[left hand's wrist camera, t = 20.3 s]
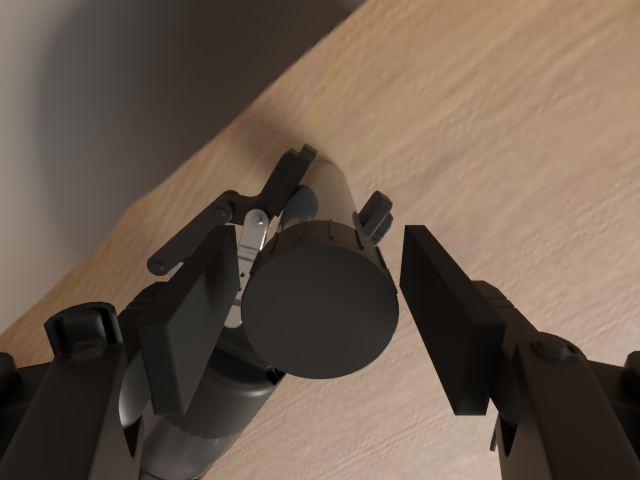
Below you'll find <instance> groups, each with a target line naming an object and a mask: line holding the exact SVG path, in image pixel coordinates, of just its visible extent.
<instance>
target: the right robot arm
mask: <svg viewBox="0 0 640 480" xmlns="http://www.w3.org/2000/svg"><path fill="white" fill-rule="evenodd" d="M316 153H317V150H315V149H314V148H312V147H310V146H309V145H307V144H305V145H304V147H303V148H302V150H301V152H300V153H299V152H297V151H296V150H294V149H293V148H291V149H290V150H288V151H287V152H286V153H284V154H283V156H282V157H281V159H280V160H279V162H278V164H277V166H276V167H275V169H274V171H273V172H272V174H271V176H270V178H269V179H268V181H267V183H266V184H265V186H264V188H263V190H262V191H261V193H260V194H259V195H257V196H254V197H247V196H243V195H239V193H238V192H236V191H234V190H227V191H225V192H224V193H223V194H221V195H220V196H219V197H218V198H217V199H216V200H215V201H213V202H212V203H211V204H210V205H209V206H208V207H207V208H205V209H204V210H203V211H202V212H201V213H200V214H199V215H197V216H196V217H195V218H194V219H193V220H192V221H191V222H190V223H188V224H187V225H186V226H185V227H184V228H183V229H182V230H180V231H179V232H178V233H177V234H176V235H175V236H174V237H172V238H171V239H170V240H169V241H168V242H167V243H166V244H165V245H163V246H162V247H161V248H160V249H159V250H158V251H157V252H156V253H155V254H154V255H153V256H151V257H150V258H149V259H148V261H147V268H148V270H149V271H150V272H151V273H152V274H154V275H156V276H163V275H166V274H168V275H170V276H171V277H172V276H173V275H174V274H175V273H176V272H177V270H178V269H179V268H180V267H181V266H182V264H183V263H184V262H185V261H186V260H187V259H188V257H189V256H190V255H191V254H192V253H193V251H194V250H195V249H196V248H197V247H198V246H199V244H200V243H201V242H202V241H203V240H204V238H205V237H206V236H207V235H208V234H209V233H210V231H211V230H212V229H213V228H214V227H215V225H225V224H226V223H227V222H228V223H233V224H238V225H243V229H242V234H241V238H240V242H239V246H238V249H237V253H238V264H239V274H240V284H241V286H240V289H239V291H238V293H237V296H236V298H235V300H234V302H233V305H232V307H231V309H230V312H229V314H228V316H227V319H226V321H225V323H224V326H223V328H222V330H221V333H220V335H219V337H218V340H217V342H216V344H215V347H214V349H213V351H212V353H211V356H210V358H209V360H208V363H207V365H206V367H205V370H204V372H203V374H202V377H201V379H200V381H199V384H198V386H197V388H196V391H195V393H194V395H193V398H192V400H191V402H190V405H189V407H188V409H187V411H186V414H185V415H154V412H153V408H152V403H151V399H150V400H149V401H148V403H147V405H146V407H145V408H144V410H143V412H142V416H143V420H144V427H145V429H144V437H143V445H142V453H141V461H140V468H139V476H138V480H202V479H203V478H204V476H205V475H206V474H207V472H208V471H209V470H210V468H211V467H212V466H213V464H214V463H215V462H216V461H217V460H218V459H219V458H220V457H221V456H223V455H224V454H225V453H226V452H227V451H228V450H229V449H230V447H231V446H232V445H233V444H234V443H235V441H236V440H237V439H238V437H239V436H240V435H241V434H242V432H243V431H244V430H245V428H246V427H247V426H248V424H249V423H250V422H251V420H252V419H253V418H254V416H255V415H256V414H257V412H258V411H259V410H260V409H261V407H262V406H263V405H264V403H265V402H266V401H267V399H268V398H269V397H270V395H271V394H272V393H273V391H274V390H275V389H276V388H277V386H278V385H279V384H280V382H281V381H282V379H283V378H284V376H285V375H286V373H285V372H283V371H281V370H279V369H277V368H275V367H274V366H272V365H270V364H269V363H268V362H266V361H265V360H264V359H263V358H262V357H261V356H260V355H259V354H258V353H257V352H256V351H255V350H254V348H253V347H252V346H251V344H250V343H249V341H248V339H247V337H246V335H245V332H244V330H243V326H242V322H241V312H240V311H241V301H242V300H241V297H242V294H243V292H244V289H245V287H246V284H247V282H248V279H249V277H250V274H249V272H250V269H251V267H252V264H253V262H254V260H255V257H256V255H257V253H258V251H260V252H261V251H262V249H263V248H264V246H265V243H266V240H267V235H268V231H269V227H270V223H271V220H272V219H273V217H274V215H275V216H277V217H279V215H280V213H281V212H282V210H283V208H284V207H285V205H286V203H287V202H288V200H289V199H290V197H291V195H292V194H293V192H294V191H295V189H296V187H297V186H298V184H299V182H300V181H301V179H302V178H303V176H304V174H305V173H306V171H307V170H308V168H309V166H310V165H311V163H312V161H313V160H314V158H315V156H316ZM391 208H392V202H391V201H390V199H389V198H388V197H387V196H385V195H384V194H382V193H381V192H379V191H378V190H377V191H375V192H374V193H373V195H372V196H371V197H370V199H369V200H368V201H367V203H366V204H365V206H364V207H363V209H362V210H361V211H360V213H359V214H358V216H359V219H360V222H361V224H362V227H363V230H364V233H365V236H366V237H367V238H368V239H369V240H370V241H371V242H372V243H373V244H374V246H375V247H376V246H377V245H378V243H379V242H380V241H381V239H382V238H383V237H384V235H385V234H386V233H387V231H388V230H389V229H390V227H391V224H392V221H393V217H392V215H391V213H390V210H391Z"/></svg>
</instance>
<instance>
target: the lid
mask: <svg viewBox="0 0 640 480" xmlns="http://www.w3.org/2000/svg"><path fill="white" fill-rule="evenodd" d="M386 268H387V266H386V264H385V261H384V259H383V257H382V254H381V252H380V249H379V247H378V246H376V247H375V246H374V244H373V243H372V242H371V241H370V240H369V239H368V238H367V237H366V236H364V235H363V234H362V233H361V232H360V230H359V229H358V228H356V229H354V228H352V227H350V226H347V225H345V224H342V223H338V222H334V221H332V220H331V219H329V221H327V220H314V221H306V222H304V221H300V223H298V224H295V225H292V226H290V227H288V228H286V229H284V230H282V231H281V232H279V233H278V232H276V233H275V234H274V237H273V238H272V239H271V240H269V241H268V242H267V244H266V245H265V246H264V248H263V249H262V251H261V252H260V251H258V253H257V255H256V257H255V260H254V262H253V264H252V267H251V269H250V272H249V274H250V277H249V279H248V282H247V284H246V287H245V289H244V292H243V294H242V297H241V300H242V301H241V311H240V312H241V322H242V326H243V330H244V332H245V335H246V337H247V339H248V341H249V343H250V344H251V346H252V347H253V348H254V350H255V351H256V352H257V353H258V354H259V355H260V356H261V357H262V358H263V359H264V360H265V361H266V362H268V363H269V364H270V365H272V366H274V367H275V368H277V369H279V370H281V371H283V372H285V373H288V374H291V375H294V376H298V377H302V378H309V379H331V378H337V377H342V376H345V375H349V374H352V373H354V372H356V371H359V370H361V369H362V368H364V367H366V366H368V365H369V364H370V363H372V362H373V361H374V360H376V359H377V358H378V357H379V356H380V355H381V354H382V353H383V352H384V350H385V349H386V348H387V347H388V345H389V343H390V342H391V340H392V338H393V336H394V334H395V331H396V328H397V324H398V318H399V304H398V299H397V295H396V294H398V292H397V289H396V286H395V284H394V282H393V279H392V277H391V274H390V272H389V269H388V268H387V269H386Z"/></svg>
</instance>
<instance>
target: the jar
mask: <svg viewBox="0 0 640 480" xmlns="http://www.w3.org/2000/svg"><path fill="white" fill-rule="evenodd" d="M329 219H331V220H332V221H334V222H338V223H342V224H345V225H347V226H350V227H352V228H354V229H356V228H358V229H359V230H360V232H361V233H362V234H363V235H364V236H365V233H364V230H363V227H362V224H361V222H360V219H359V216H358V213H357V210H356V207H355V204H354V201H353V198H352V195H351V192H350V189H349V186H348V183H347V180H346V178H345V176H344V174H343V172H342V171H341V170H340V169H339V168H338V167H337V166H335V165H334V164H332V163H330V162H326V161H313V162H312V163H311V165H310V166H309V168H308V170H307V171H306V173H305V174H304V176H303V178H302V179H301V181H300V182H299V184H298V186H297V187H296V189H295V191H294V192H293V194H292V195H291V197H290V199H289V200H288V202H287V203H286V205H285V207H284V209H283V212H282V215H281V218H280V221H279V223H278V226H277V229H276V232H278V233H279V232H281V231H282V230H284V229H286V228H288V227H290V226H292V225H295V224H298V223H300V221H304V222H306V221H314V220H327V221H329ZM276 232H275V233H276Z"/></svg>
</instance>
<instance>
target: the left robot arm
mask: <svg viewBox="0 0 640 480" xmlns="http://www.w3.org/2000/svg"><path fill="white" fill-rule="evenodd" d="M240 286H241V284H240V274H239V264H238V253H237V243H236V232H235V225H215V227H214V228H213V229H212V230H211V231H210V233H209V234H208V235H207V236H206V237H205V238H204V240H203V241H202V242H201V243H200V244H199V246H198V247H197V248H196V249H195V250H194V251H193V253H192V254H191V255H190V256H189V257H188V259H187V260H186V261H185V262H184V263H183V264H182V266H181V267H180V268H179V269H178V270H177V272H176V273H175V274H174V275H173V276H172V277H171V279H170V280H169V281H168V282H155V283H154V284H152V285H150V286H148V287H147V288H145V289H143V290H142V291H141V292H140V293H139V294H138V295H137V296H136V297H135V298H134V299H133V301H131V303H130V304H129V305H128V306H127V307H126V309H124V310H123V311H122V312H121V313H120V314H119V315H118V316H117V314H116V310H115V307H114V306H113V305H111V304H110V303H105V302H89V303H84V304H80V305H75V306H73V307H70V308H67V309H65V310H62V311H60V312H59V313H57V314H55V315H54V316H52V317H50V318H49V319H48V320H47V321H46V322H45V323H44V327H45V330H46V333H47V336H48V339H49V342H50V344H51V347H52V350H53V353H54V356H55V357H54V359H53V361H52V362H48V363H43V364H38V365H33V366H28V367H23V368H18V369H17V366H16V364H15V362H14V359H13V357H12V356H11V355H9V354H8V353H2V352H0V480H138V476H139V468H140V461H141V453H142V445H143V437H144V429H145V427H144V420H143V416H142V412H143V410H144V408H145V407H146V405H147V403H148V401H149V400H150V399H151V403H152V408H153V412H154V415H185V414H186V411H187V409H188V407H189V405H190V402H191V400H192V398H193V395H194V393H195V391H196V388H197V386H198V384H199V381H200V379H201V377H202V374H203V372H204V370H205V367H206V365H207V363H208V360H209V358H210V356H211V353H212V351H213V349H214V347H215V344H216V342H217V340H218V337H219V335H220V333H221V330H222V328H223V326H224V323H225V321H226V319H227V316H228V314H229V312H230V309H231V307H232V305H233V302H234V300H235V298H236V296H237V293H238V291H239V289H240ZM399 286H400V289H401V291H402V293H403V296H404V298H405V300H406V302H407V305H408V307H409V309H410V312H411V314H412V316H413V319H414V321H415V323H416V326H417V328H418V330H419V333H420V335H421V337H422V340H423V342H424V344H425V347H426V349H427V351H428V353H429V356H430V358H431V360H432V363H433V365H434V367H435V370H436V372H437V374H438V377H439V379H440V381H441V384H442V386H443V388H444V391H445V393H446V395H447V398H448V400H449V402H450V405H451V407H452V409H453V411H454V414H455V415H486V412H487V408H488V403H489V399H490V398H491V399H492V401H493V403H494V405H495V406H496V408H497V410H498V416H497V420H496V424H495V428H494V432H493V436H492V440H491V445H490V451H494V452H495V449H496V445H497V444H498V452H499V460H500V467H501V475H502V480H640V351H634V352H632V353H630V354H629V355H628V357H627V359H626V362H625V364H624V366H623V367H620V366H615V365H610V364H605V363H600V362H595V361H590V360H587V358H586V356H585V355H584V354H583V353H582V351H581V350H580V349H579V348H578V347H576V346H575V345H574V344H572V343H571V342H569V341H567V340H565V339H563V338H561V337H559V336H556V335H553V334H549V333H545V332H539V331H538V330H537V329H536V328H535V327H534V326H533V325H532V324H531V323H530V322H529V321H528V320H527V319H526V318H525V317H524V316H523V315H522V314H521V313H520V311H519V310H518V309H517V308H514V305H513V304H512V303H511V302H510V301H509V300H507V298H506V297H505V296H504V295H503V294H502V293H501V292H500V290H499V289H497V288H496V287H494V286H492V285H490V284H489V283H487V282H485V281H471V280H470V279H469V277H468V276H467V275H466V274H465V273H464V272H463V270H462V269H461V268H460V267H459V266H458V264H457V263H456V262H455V261H454V260H453V259H452V257H451V256H450V255H449V254H448V253H447V251H446V250H445V249H444V248H443V247H442V246H441V244H440V243H439V242H438V241H437V240H436V238H435V237H434V236H433V235H432V234H431V233H430V231H429V230H428V229H427V228H426V227H425V225H405V232H404V243H403V253H402V264H401V274H400V284H399Z"/></svg>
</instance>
